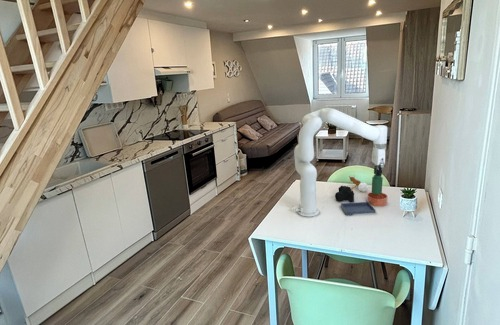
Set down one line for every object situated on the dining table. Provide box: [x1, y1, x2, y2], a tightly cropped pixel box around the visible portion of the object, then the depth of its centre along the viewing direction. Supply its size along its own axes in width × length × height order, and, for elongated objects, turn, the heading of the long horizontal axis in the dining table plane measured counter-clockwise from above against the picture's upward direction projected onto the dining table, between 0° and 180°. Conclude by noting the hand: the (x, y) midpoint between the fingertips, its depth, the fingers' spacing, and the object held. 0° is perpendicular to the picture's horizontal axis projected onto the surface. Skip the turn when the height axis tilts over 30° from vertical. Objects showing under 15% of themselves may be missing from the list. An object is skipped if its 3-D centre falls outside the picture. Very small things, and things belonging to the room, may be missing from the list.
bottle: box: [371, 166, 384, 194], centre depth 193 cm, size 6×6×18 cm
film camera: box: [334, 185, 355, 203], centre depth 205 cm, size 15×10×9 cm, turn 16°
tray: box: [340, 201, 376, 216], centre depth 190 cm, size 17×12×2 cm
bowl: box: [366, 191, 389, 207], centre depth 197 cm, size 12×12×6 cm
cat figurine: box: [348, 174, 369, 193], centre depth 222 cm, size 13×12×18 cm
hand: (377, 174), depth 192 cm, fingers closed on bottle, 2 cm apart
